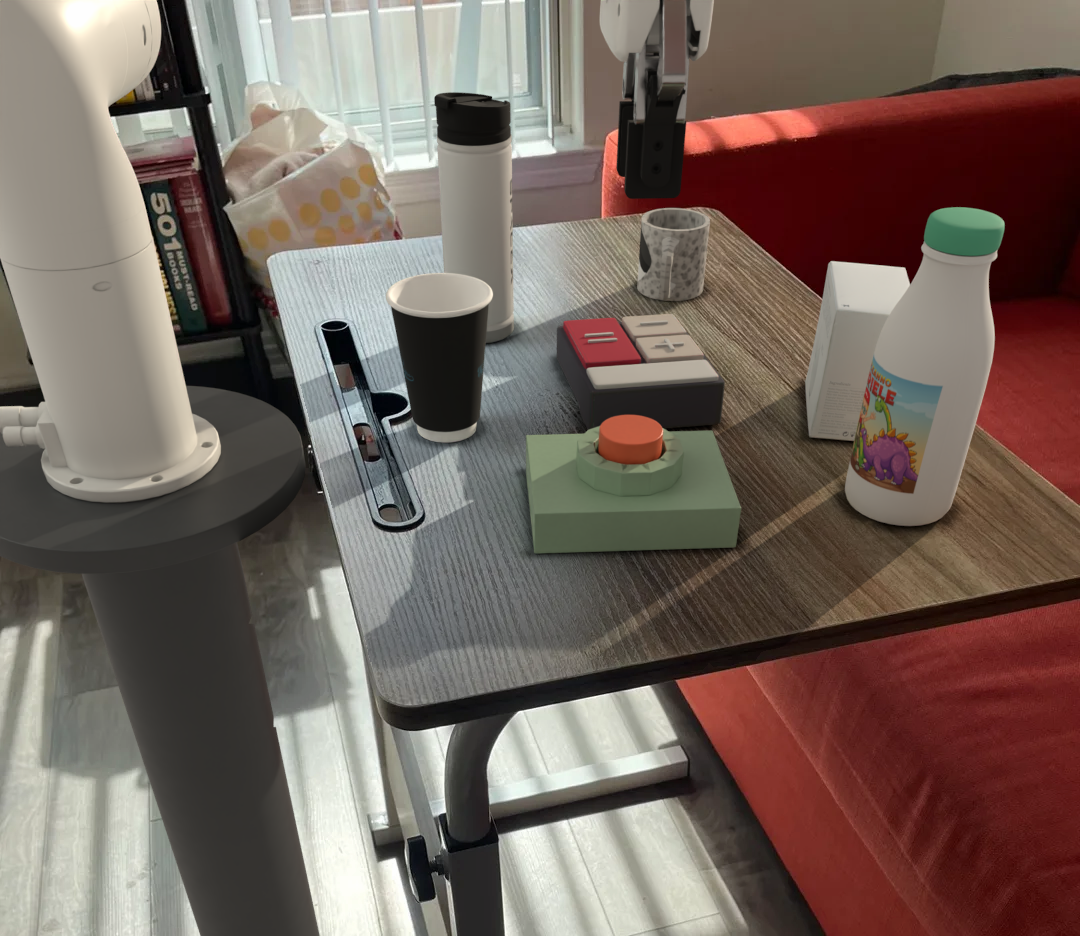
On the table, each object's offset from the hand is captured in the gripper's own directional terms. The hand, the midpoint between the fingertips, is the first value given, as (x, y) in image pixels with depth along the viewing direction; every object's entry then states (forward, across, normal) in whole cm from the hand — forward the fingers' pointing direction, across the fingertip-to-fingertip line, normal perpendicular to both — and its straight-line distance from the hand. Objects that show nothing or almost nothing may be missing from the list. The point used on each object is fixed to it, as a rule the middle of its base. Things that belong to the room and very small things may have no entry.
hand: (647, 182), depth 66 cm
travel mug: (+22, -32, -10) cm, 40 cm away
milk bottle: (+22, 0, +20) cm, 30 cm away
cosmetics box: (+22, -14, +20) cm, 33 cm away
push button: (+18, 0, 0) cm, 18 cm away
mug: (+22, -40, +9) cm, 47 cm away
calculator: (+22, -19, +3) cm, 30 cm away
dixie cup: (+22, -13, -13) cm, 29 cm away
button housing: (+22, 0, 0) cm, 22 cm away
